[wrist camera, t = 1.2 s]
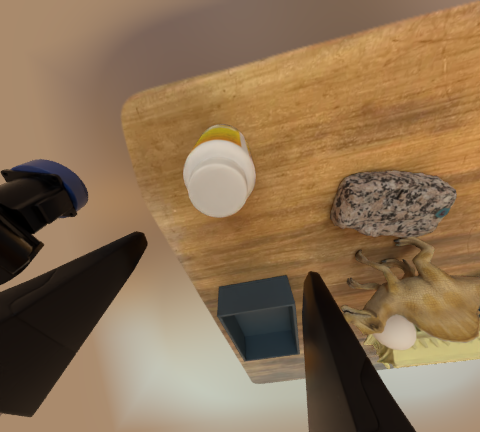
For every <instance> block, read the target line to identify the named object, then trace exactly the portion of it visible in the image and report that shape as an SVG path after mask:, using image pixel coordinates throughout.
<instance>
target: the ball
mask: <svg viewBox="0 0 480 432" xmlns="http://www.w3.org/2000/svg"><path fill="white" fill-rule="evenodd" d="M372 335H373V336H374V337H375V338H376V339H377V340H378V341H379V342H380V343H381V344H383V345H385V346H386V347H388V348H391V349H394V350H406V349H409V348H410V347H411V346H413V345H414V343H415V341H416V330H415V326H414V325H413V323H411V322H409V321H408V320H407V319H405V318H403V317H402V316H400V315H395V316H392V317H390V318H389V319H388V320H387V322H386V326H385V327H384V331H383V332H382V333H374V334H372Z"/></svg>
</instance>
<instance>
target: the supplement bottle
mask: <svg viewBox="0 0 480 432" xmlns="http://www.w3.org/2000/svg"><path fill="white" fill-rule="evenodd" d="M183 177H184V182H185V185H186V188H187V190H188V194H189V198H190V200H191V202H192V204H193V205H194V206H195V207H196V209H198V210H199V211H200V212H202V213H203V214H205V215H208V216H211V217H227V216H230V215H233V214H234V213H236V212H238V211H239V210H240V209H241V208H242V207H243V205H244V204H245V202H246V199H247V198H248V197H249V196H250V194H251V192H252V190H253V188H254V185H255V180H256V172H255V167H254V163H253V160H252V157H251V153H250V150H249V147H248V144H247V141H246V139H245V138H244V136H243V135H242V133H241V132H240V131H239V130H237V129H236V128H234V127H232V126H229V125H224V124H219V125H215V126H212V127H210V128H208V129H207V130H206V131H205V132H204V133H203V134H202V135H201V137H200V138H199V140H198V142H197V143H196V145H195V146H194V148H193V149H192V151H191V152H190V154H189V156H188V157H187V160H186V162H185V165H184V171H183Z"/></svg>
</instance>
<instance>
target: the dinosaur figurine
mask: <svg viewBox="0 0 480 432" xmlns="http://www.w3.org/2000/svg"><path fill="white" fill-rule="evenodd" d="M403 238H404V239H398V240H394V242H398V244H395V245H396V246H404V245H415V246H416V247H418V248H420V249H421V252H420V253H419V254H418V255H416V256H415V257H414V258H413V260H412V261H413V263H414V265H415V266H416V268H417V271H418V273H419V276H415V270H414V268H412V267H411V266H410V265H409V264H408V263H407V261H406V260H404V259H402V260H403V262H404V263H403V262H401V261H399V260H397V259H386V260H384V261H381V262H384V263H381V264H379V263H376V262H373V261H370V260H368V259H367V258H366V257H364V256H363V255H362V254H361V251H362V250H359V252H358V253H357V254H356V255H355V258H356V260H357V261H359V262H361V263H364V264H368V265H370V266H372V267H374V268H376V269H377V270H380V271H382V272H383V274H384V276H385V278H386V280H387V283H384V284H382V285H380V284H377V283H366V284H362V285H361V284H359V283H357V282H356V281H354V280H353V279H352V278H350V280H349V279H348V280H347V284H348V285H349V286H350V287H352V288H354V289H358V288H359V289H368V290H372V289H376V290H377V291H376V292H375V294H374V295H373V297H372V298H371V299H370V300H369V301H368V302H367V304H366V305H365V307H364V309H363V310H358V309H355V308H350V307H348V306H347V305H343V306H342V307H341V309H342V311H343V312H344V313H343V315H344V317H345V319H346V321H347V322H348V323H350V324H354V325H355V326H356V327H357V328H358V329H359V330H360V331H361V332H362V334H363V335H370V334H374V333H382V332H383V331H384V327H385V326H386V322H387V320H388V319H389V318H390V317H392V316H395V315H400V316H402V317H403V318H405V319H407V320H408V321H409V322H411V323H413V324H415V325H416V327H417V328H419V329H420V330H422V331H424V332H426V333H427V334H428V335H430V336H432V337H434V338H438V339H439V340H442V341H450V342H460V343H467V342H470V341H472V340H474V339H476V338H477V337H479V331H480V317H479V314H480V312H479V310H478V309H479V306H480V277H469V276H456V275H455V276H449V275H448V274H447V273H445V272H444V271H443V270H441V269H440V268H438V267H436V266H435V265H433V264H431V262H430V261H431V259H432V256H433V252H434V251H435V249H434V247H433V246H431V245H429V244H427V243H425V242H423V241H422V240H420V239H418V238H416V237H408V238H405V237H403ZM390 267H398V268H400V269H402V270H403V271H404V273H405V274H404V277H403V278H402V279H401V280H398V279H397V277H396V276H395V275H394V274H393V273H392V272H391V270H390V269H389V268H390Z"/></svg>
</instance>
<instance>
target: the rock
mask: <svg viewBox="0 0 480 432" xmlns="http://www.w3.org/2000/svg"><path fill="white" fill-rule="evenodd" d="M456 195H457V194H456V190H455V189H454V188H453V187H451V186H450V185H449V184H448V183H447V182H444V181H443V180H441V179H440V178H439V177H438V176H431V175H425V174H423V173H411V172H402V171H385V172H365V173H356V174H353V175H350V176H348V177H346V178H344V179H343V181H342V182H341V184H340V185H339V188H338V192H337V194H336V197H335V200H334V203H333V207H332V210H331V215H330V219H331V220H332V221H333V223H334V225H336V226H339V227H340V228H342V229H345V228H352V229H355V230H357V231H358V232H359V233H362V234H364V235H367V236H373V237H377V236H379V235H386V236H387V235H393V236H396V237H405V238H408V237H418V236H422V235H425V234H427V233H431V232H433V231H434V230H435V229H436V227H437V225H438V223H439V222H440V221H441V220H442V219H443V217H444V216H445V215H447V214H448V212H449V210H450V208H451V206H452V205H453V204H454V202H455V199H456Z"/></svg>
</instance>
